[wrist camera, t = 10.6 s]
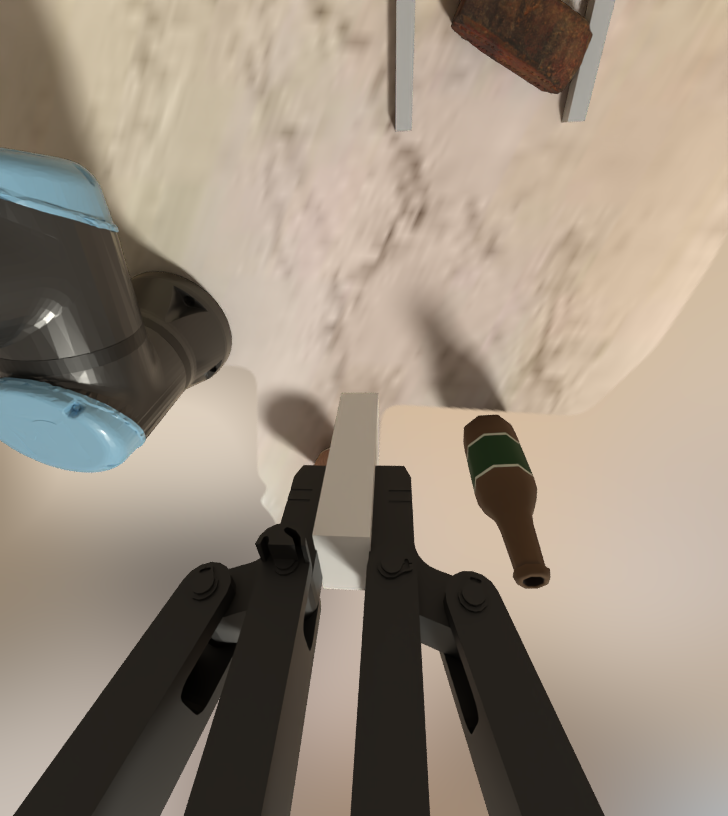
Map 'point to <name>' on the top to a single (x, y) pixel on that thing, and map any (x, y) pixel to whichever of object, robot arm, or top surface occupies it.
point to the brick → (527, 37)
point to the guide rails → (579, 86)
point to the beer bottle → (506, 493)
